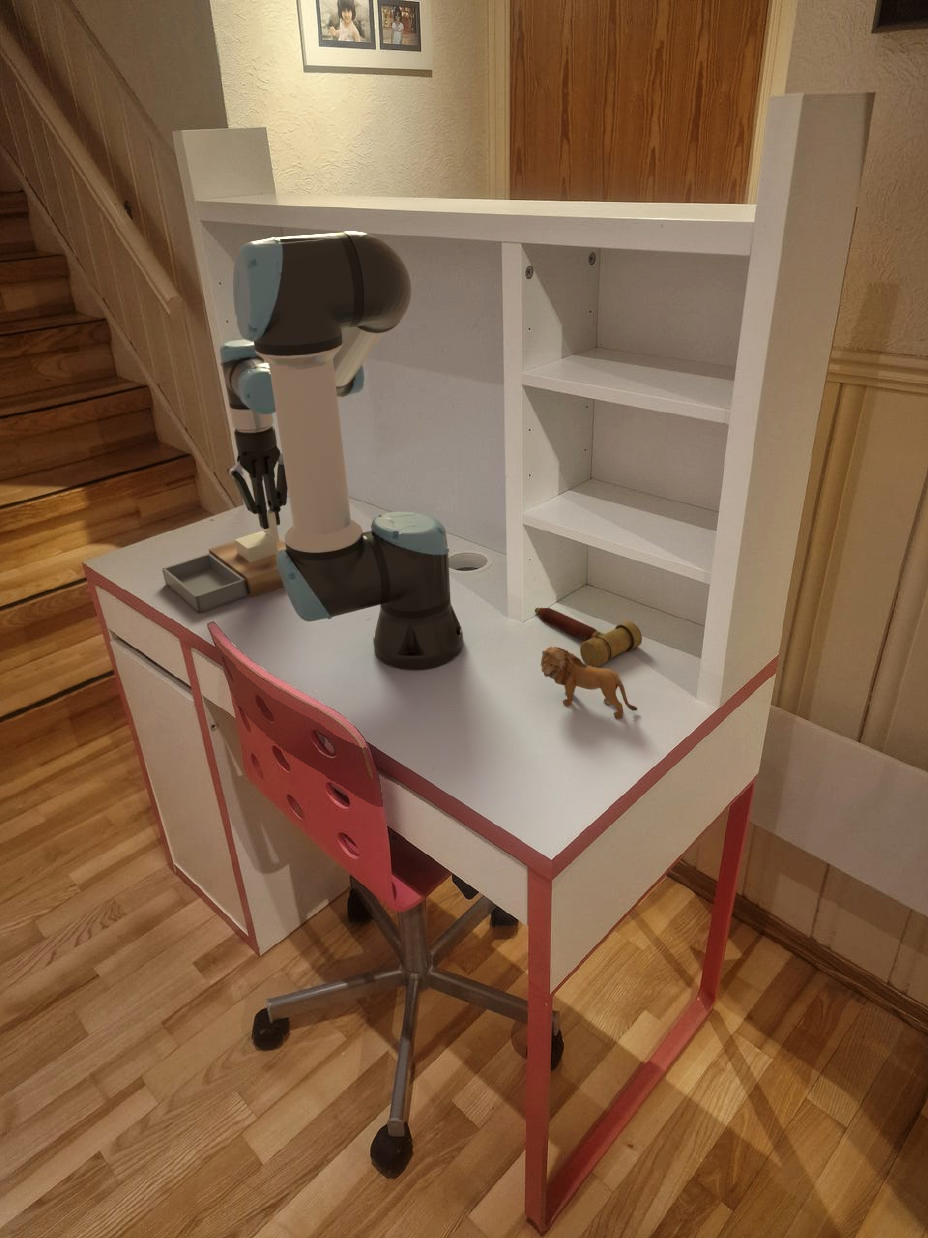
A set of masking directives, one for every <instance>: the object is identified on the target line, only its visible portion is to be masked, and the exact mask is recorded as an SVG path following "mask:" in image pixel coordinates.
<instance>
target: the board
mask: <svg viewBox="0 0 928 1238" xmlns="http://www.w3.org/2000/svg"><path fill="white" fill-rule="evenodd" d="M263 532H265V530H264V531H263ZM276 544H277V550H278V552H279V551H280V550H283V549H284V550H286V544H285V541H283V540H282V539H280V538H279V543H276ZM209 553H210V554H211V555H213V556H214V557H215V558H217V559H218V560H219V561H221V562H222V563H224V564H225V565H226V566H228V567H229V568H230V569H232V570H233V571H234V572H236V573H237V574H238V575H240V576H241V577H242V578H244V579H245V580H246V585H247V591H248V596H250V597H251V598H255V597H257V596H260V595H262V594H266V593H268V592H271V591H274V590H276V589H279V588H282V587H284V584H283V582H282V579H281V576H280V573H279V570H278V566H277V562H276V554H275V555H272V556H269V557H266V558H263V559H260V560H257V561H254V562H251V563H250V562H249V561H248V560H246V559H245V558H243V557H242V556H241V555H239V554H238V553H237V549H236V544H235V540H234V541H230V542H226V543H223V544H221V545H217V546H214V547H210V548H208V554H209ZM270 590H271V591H270ZM267 591H268V592H267ZM265 592H266V593H265Z"/></svg>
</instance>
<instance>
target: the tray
mask: <svg viewBox="0 0 928 1238" xmlns="http://www.w3.org/2000/svg"><path fill="white" fill-rule="evenodd" d="M161 570H162V574H163V579H164V582H165V585H166V586H167V587H168V588H169V589H170V590H172V591H173V592H174V593H175V594H176V595H177V596H179V597H180V599H182V600H183V601H184V602H186V603H187V605H189V606H190V607H191V608H192V609H193V610H195V611H196V612H197V614H203V613H205V612H208V611H211V610H213V609H216V608H218V607H222V606H224V605H226V604H229V603H232V602H237V601H239V600H241V599H244V598H247V597H249V594H248V591H247V585H246V580H245V579H244V578H242V577H241V576H240V575H238V574H237V573H236V572H234V571H233V570H232V569H230V568H229V567H228V566H226V565H225V564H224V563H222V562H221V561H219V560H218V559H217V558H215V557H214V556H213V555H211V554H210V553H209V552H208V553H206V554H203V555H201V556H200V555H199V556H197V557H194V558H191V559H188V560H185V561H181V562H178V563H175V564H172V565H168V566H167V567H163V568H161Z"/></svg>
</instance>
